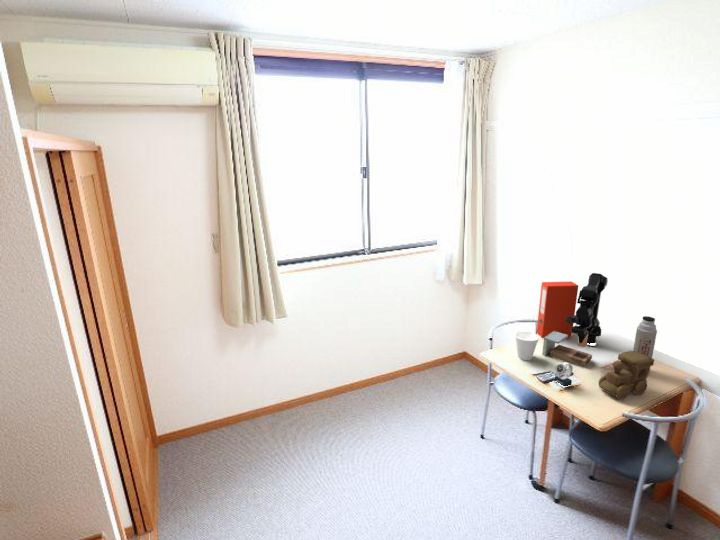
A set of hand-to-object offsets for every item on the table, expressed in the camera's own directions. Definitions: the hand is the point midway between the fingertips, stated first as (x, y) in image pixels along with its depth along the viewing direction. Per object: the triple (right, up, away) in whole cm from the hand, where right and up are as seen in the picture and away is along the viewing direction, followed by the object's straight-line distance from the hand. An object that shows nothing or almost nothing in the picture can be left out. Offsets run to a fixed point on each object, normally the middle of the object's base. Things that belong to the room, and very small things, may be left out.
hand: (582, 341), depth 211 cm
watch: (-18, -17, -17) cm, 30 cm away
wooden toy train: (+5, -19, -24) cm, 31 cm away
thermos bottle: (+25, -13, -7) cm, 29 cm away
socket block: (-2, -10, +6) cm, 12 cm away
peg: (0, -2, +1) cm, 2 cm away
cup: (-26, -10, +9) cm, 29 cm away
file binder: (+2, -2, +34) cm, 34 cm away
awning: (-9, -8, +12) cm, 17 cm away
